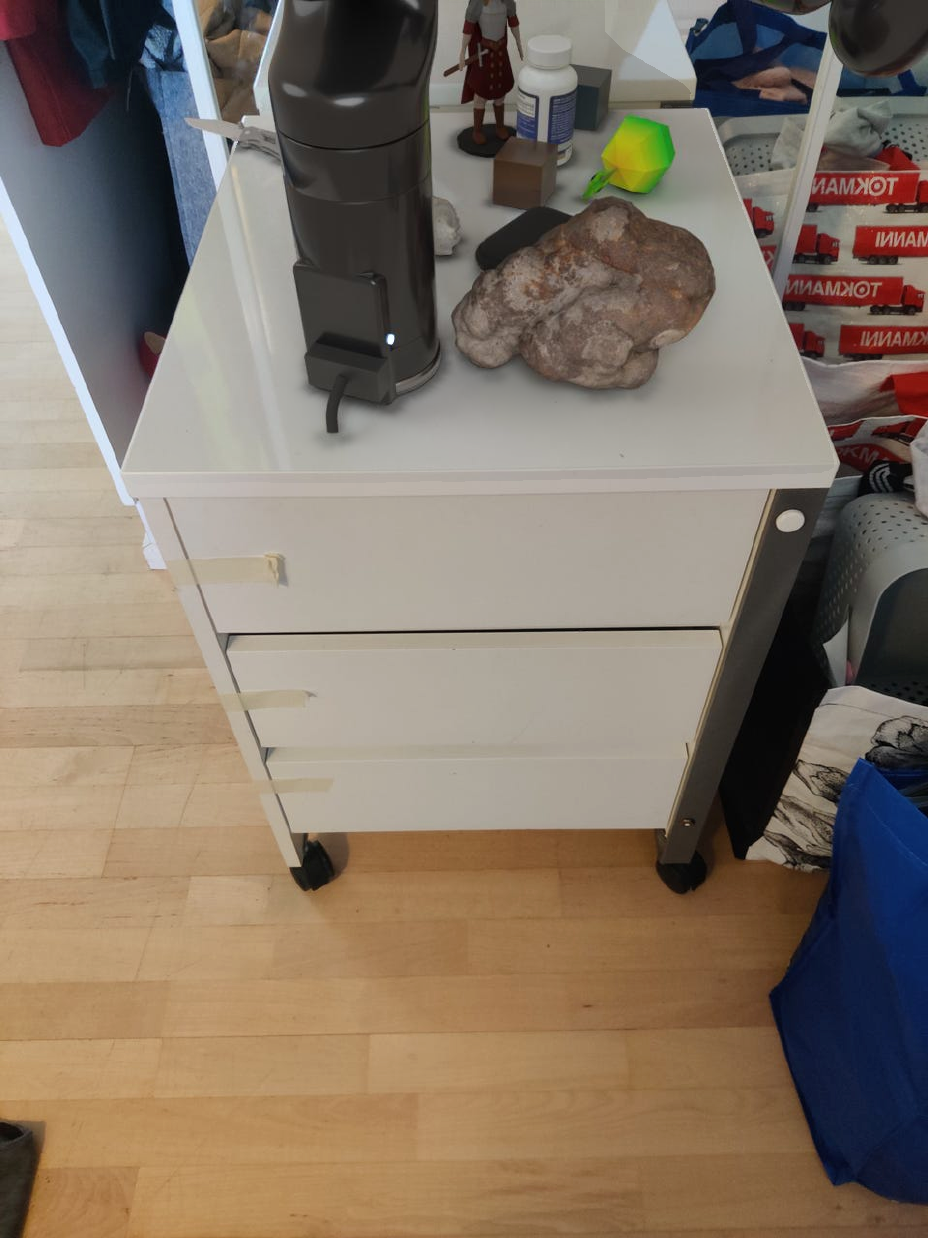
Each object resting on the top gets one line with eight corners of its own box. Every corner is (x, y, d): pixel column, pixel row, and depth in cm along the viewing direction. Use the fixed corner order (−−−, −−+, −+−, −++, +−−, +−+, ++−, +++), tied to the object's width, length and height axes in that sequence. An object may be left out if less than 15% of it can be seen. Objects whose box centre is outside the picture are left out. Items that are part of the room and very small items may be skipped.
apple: (664, 86, 78) (607, 121, 74) (703, 151, 79) (649, 189, 75) (611, 135, 84) (556, 170, 80) (648, 195, 86) (595, 233, 81)
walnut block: (539, 212, 80) (542, 166, 76) (492, 203, 81) (492, 157, 78) (555, 188, 82) (558, 143, 79) (509, 180, 83) (510, 135, 80)
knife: (176, 133, 90) (196, 119, 92) (314, 177, 84) (333, 161, 86) (171, 117, 89) (191, 103, 90) (310, 160, 83) (330, 144, 84)
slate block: (595, 130, 89) (599, 87, 86) (552, 123, 90) (554, 80, 87) (607, 112, 92) (612, 69, 89) (565, 105, 93) (568, 62, 90)
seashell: (442, 271, 74) (430, 223, 71) (342, 207, 83) (327, 161, 79) (482, 245, 75) (471, 196, 71) (378, 184, 84) (365, 138, 80)
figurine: (471, 162, 85) (470, -24, 74) (444, 130, 90) (439, -51, 78) (535, 149, 87) (544, -35, 75) (506, 118, 91) (510, -61, 79)
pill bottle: (572, 144, 88) (581, 31, 80) (570, 170, 84) (580, 55, 77) (517, 142, 88) (521, 29, 80) (513, 168, 85) (517, 53, 77)
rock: (518, 353, 74) (498, 450, 69) (440, 241, 65) (411, 343, 61) (740, 287, 64) (733, 395, 59) (682, 145, 55) (669, 259, 51)
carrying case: (455, 281, 73) (608, 348, 67) (455, 246, 71) (613, 312, 65) (533, 227, 78) (681, 285, 72) (534, 192, 76) (688, 250, 70)
